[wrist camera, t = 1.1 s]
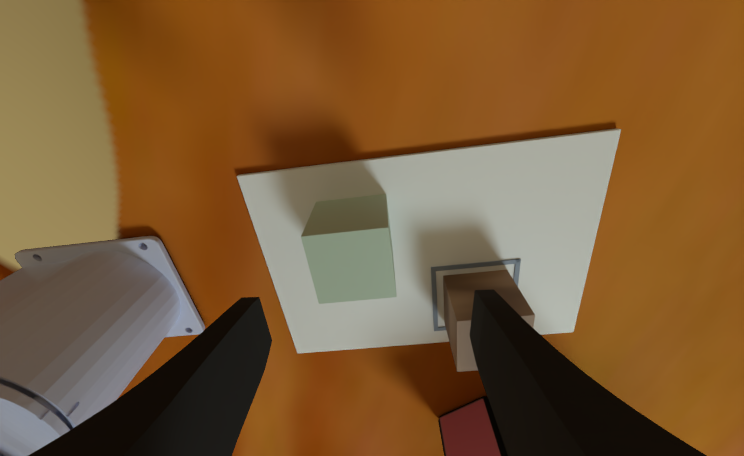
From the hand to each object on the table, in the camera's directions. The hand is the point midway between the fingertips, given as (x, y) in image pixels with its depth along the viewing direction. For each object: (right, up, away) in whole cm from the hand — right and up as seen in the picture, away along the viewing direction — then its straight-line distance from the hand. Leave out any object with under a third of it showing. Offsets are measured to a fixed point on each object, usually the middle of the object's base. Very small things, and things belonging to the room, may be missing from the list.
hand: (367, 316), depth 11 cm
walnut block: (+7, -2, +10) cm, 12 cm away
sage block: (-1, +3, +8) cm, 8 cm away
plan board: (+4, +1, +9) cm, 10 cm away
